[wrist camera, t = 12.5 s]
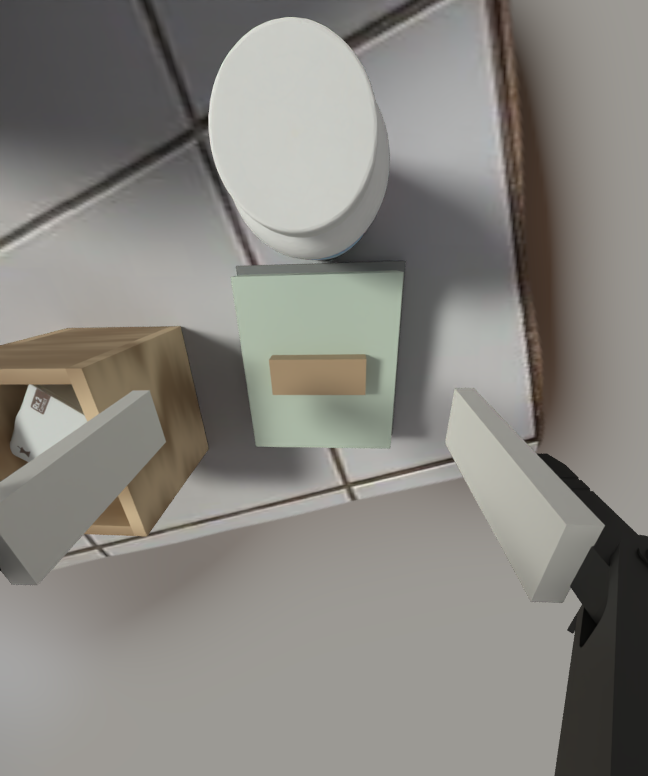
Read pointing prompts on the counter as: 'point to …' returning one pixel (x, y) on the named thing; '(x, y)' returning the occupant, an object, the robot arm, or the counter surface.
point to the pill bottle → (299, 138)
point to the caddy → (101, 390)
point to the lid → (320, 356)
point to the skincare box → (45, 419)
